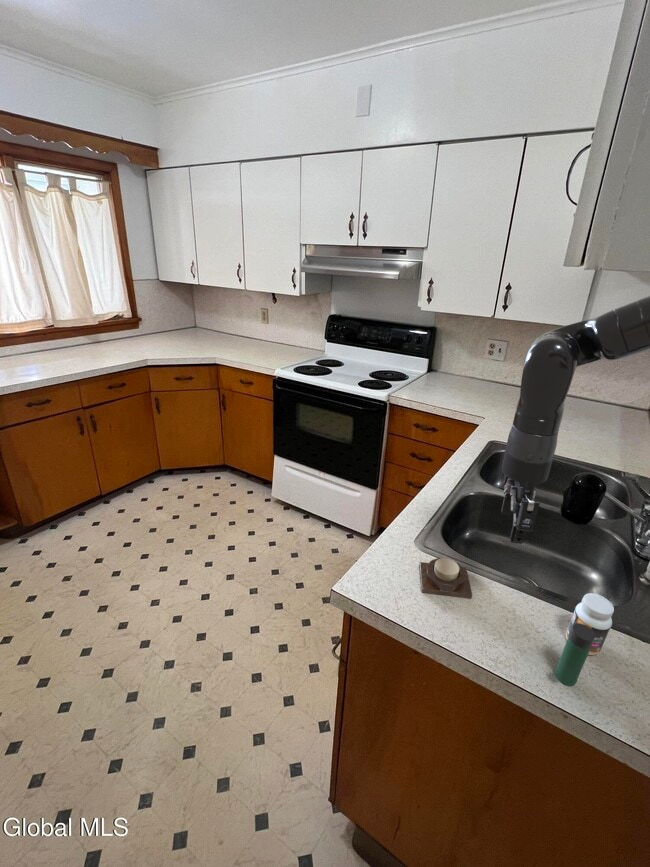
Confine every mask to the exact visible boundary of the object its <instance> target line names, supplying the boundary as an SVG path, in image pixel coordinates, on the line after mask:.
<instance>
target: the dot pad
mask: <svg viewBox="0 0 650 867" xmlns="http://www.w3.org/2000/svg"><path fill="white" fill-rule="evenodd" d="M440 558H441V559H438V560H437V561H436V562H435V566H434V573H435V575H436V576H437V577H438V578H440V579H442V580H445V581H454V580H456V579H457V578H458V574H459V566H458V564H457V563H458V562H457V563H456V561H455V560H453V559H451V558H445V557H440Z"/></svg>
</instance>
